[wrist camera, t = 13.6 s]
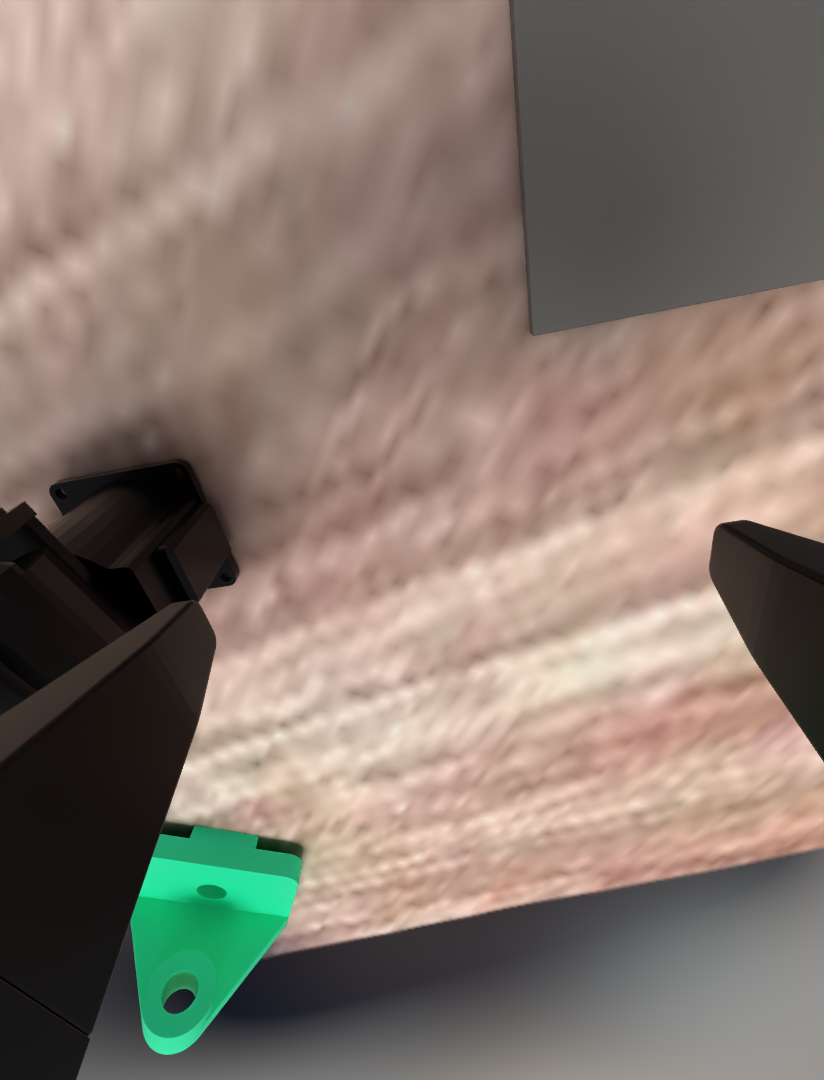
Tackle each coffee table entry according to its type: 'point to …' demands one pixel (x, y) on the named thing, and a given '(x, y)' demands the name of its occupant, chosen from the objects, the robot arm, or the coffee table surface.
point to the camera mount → (205, 925)
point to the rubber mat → (667, 152)
